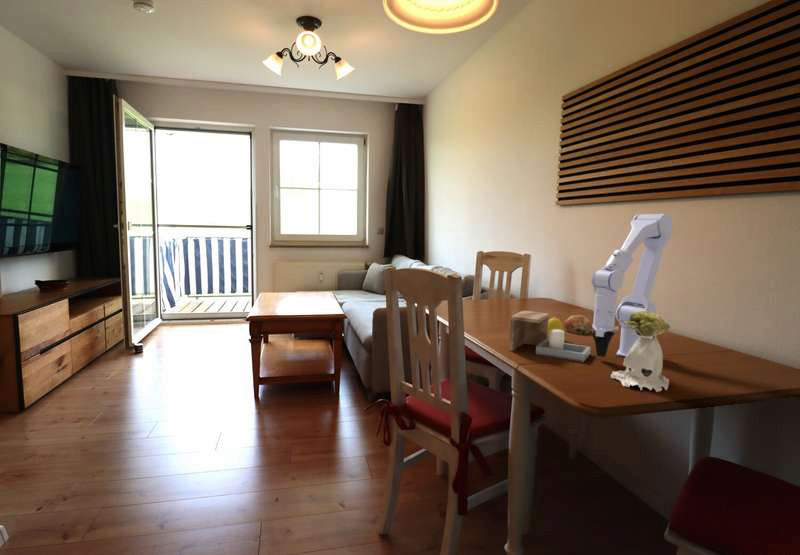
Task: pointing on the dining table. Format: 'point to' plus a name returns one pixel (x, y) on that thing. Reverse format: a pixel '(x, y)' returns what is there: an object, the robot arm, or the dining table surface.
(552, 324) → the lemon
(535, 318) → the counter shelf
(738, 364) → the dining table surface
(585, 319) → the bread roll
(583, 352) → the tray
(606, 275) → the robot arm
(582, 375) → the dining table surface
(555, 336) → the beige rounded lump
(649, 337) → the potted plant vase
